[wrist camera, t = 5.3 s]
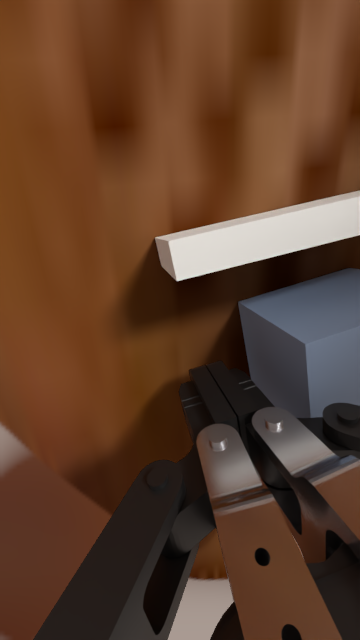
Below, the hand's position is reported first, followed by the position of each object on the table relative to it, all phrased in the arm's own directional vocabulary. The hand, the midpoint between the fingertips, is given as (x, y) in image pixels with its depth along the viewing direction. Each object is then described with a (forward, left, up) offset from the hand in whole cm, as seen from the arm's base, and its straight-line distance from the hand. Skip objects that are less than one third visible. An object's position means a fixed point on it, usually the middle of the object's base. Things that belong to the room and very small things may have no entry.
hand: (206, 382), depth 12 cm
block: (-6, 0, -2) cm, 6 cm away
